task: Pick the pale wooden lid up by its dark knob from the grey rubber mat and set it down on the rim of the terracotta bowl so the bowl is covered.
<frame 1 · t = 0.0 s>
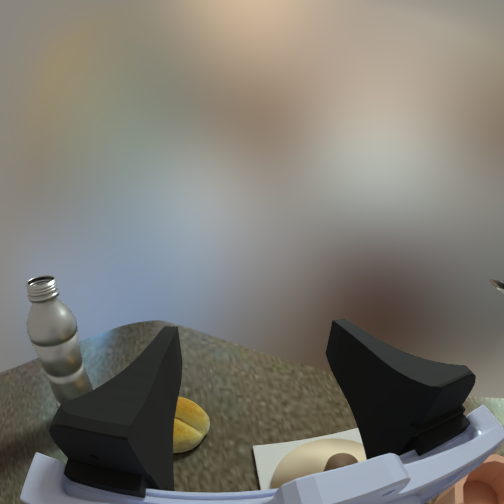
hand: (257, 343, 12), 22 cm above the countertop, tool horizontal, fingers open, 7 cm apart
bread roll: (175, 430, 29), on the countertop
lid: (332, 483, 20), resting on mat
plastic bottle: (85, 418, 27), on the countertop
mat: (331, 485, 20), on the countertop
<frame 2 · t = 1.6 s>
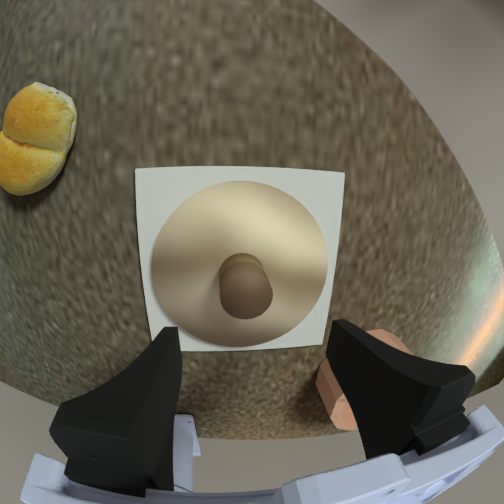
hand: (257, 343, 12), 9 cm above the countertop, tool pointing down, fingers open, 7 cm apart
bread roll: (39, 137, 16), on the countertop
lid: (240, 270, 21), resting on mat
mat: (240, 267, 21), on the countertop
bowl: (359, 367, 26), on the countertop
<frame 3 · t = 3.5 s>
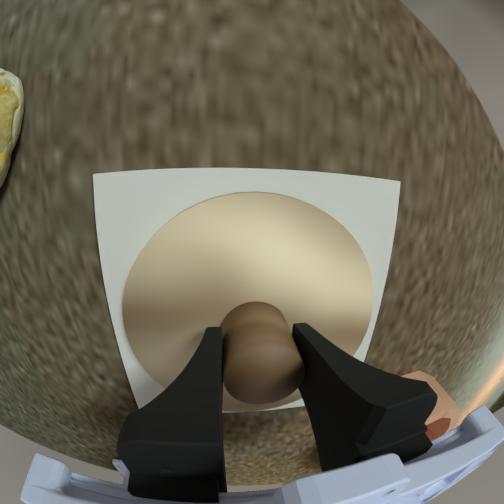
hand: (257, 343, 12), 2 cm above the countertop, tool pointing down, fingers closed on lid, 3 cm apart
lid: (251, 321, 14), resting on mat, touching gripper
mat: (251, 316, 14), on the countertop
bowl: (388, 412, 20), on the countertop
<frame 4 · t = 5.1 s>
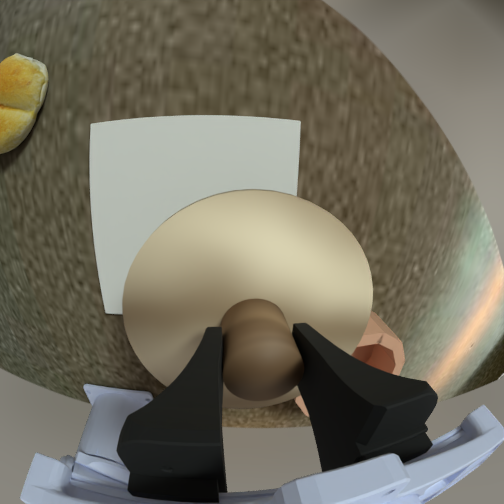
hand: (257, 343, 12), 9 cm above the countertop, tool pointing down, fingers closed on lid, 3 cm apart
bread roll: (16, 103, 14), on the countertop
lid: (251, 318, 14), point 7 cm above the countertop, touching gripper
mat: (189, 221, 19), on the countertop
bowl: (334, 348, 25), on the countertop
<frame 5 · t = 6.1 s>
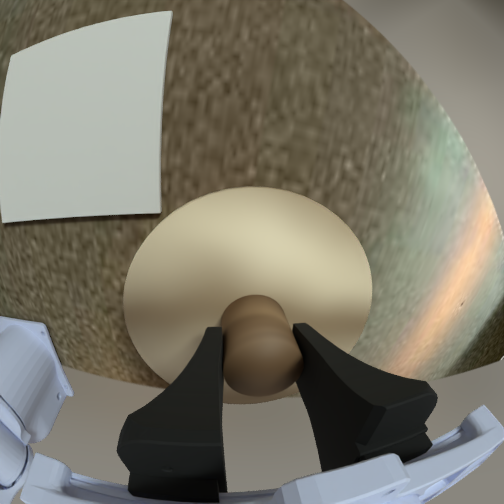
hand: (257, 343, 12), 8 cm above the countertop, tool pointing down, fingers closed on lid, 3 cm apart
lid: (251, 314, 14), point 6 cm above the countertop, touching gripper
mat: (67, 116, 15), on the countertop
when the fingers open (8 cm above the countertop, at t = 6.9 s): lid stays where it is, resting on bowl.
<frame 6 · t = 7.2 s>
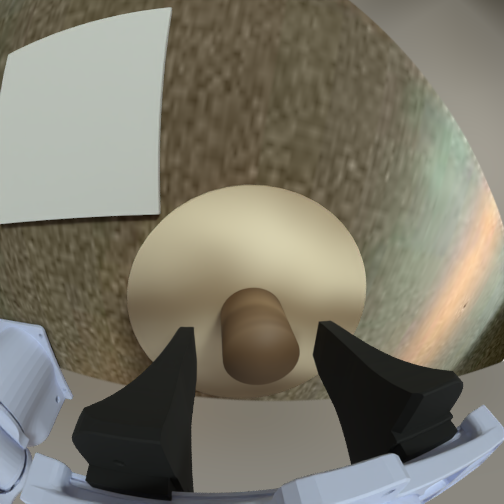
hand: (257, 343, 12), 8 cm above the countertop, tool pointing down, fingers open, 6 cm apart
lid: (249, 307, 15), point 5 cm above the countertop, touching bowl
mat: (64, 115, 14), on the countertop
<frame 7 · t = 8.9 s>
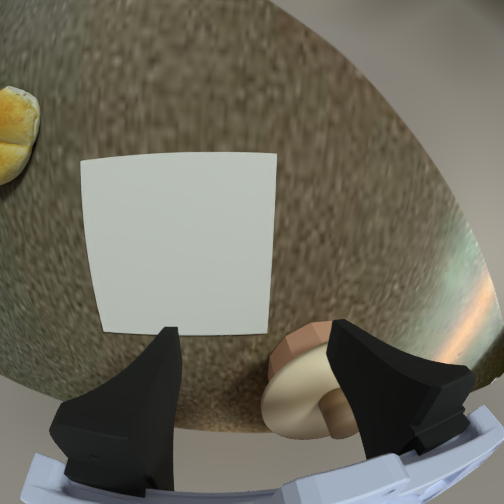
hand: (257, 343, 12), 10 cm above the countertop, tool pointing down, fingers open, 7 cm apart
bread roll: (12, 134, 16), on the countertop
lid: (332, 393, 22), point 5 cm above the countertop, touching bowl
mat: (175, 251, 21), on the countertop
bowl: (316, 361, 26), on the countertop
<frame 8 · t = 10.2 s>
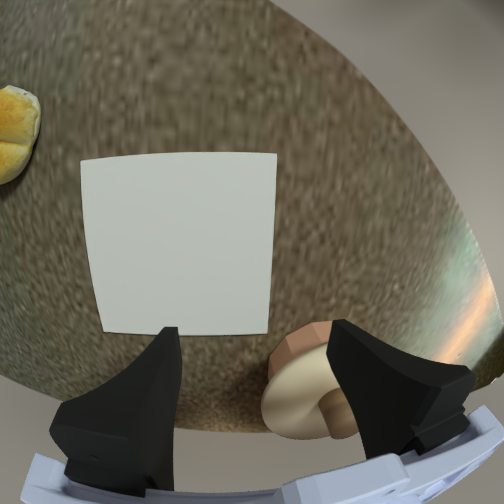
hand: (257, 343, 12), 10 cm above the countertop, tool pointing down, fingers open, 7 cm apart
bread roll: (12, 134, 16), on the countertop
lid: (332, 393, 22), point 5 cm above the countertop, touching bowl
mat: (175, 251, 21), on the countertop
bowl: (316, 361, 26), on the countertop
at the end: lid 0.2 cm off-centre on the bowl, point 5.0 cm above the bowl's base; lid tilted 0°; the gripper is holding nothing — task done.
